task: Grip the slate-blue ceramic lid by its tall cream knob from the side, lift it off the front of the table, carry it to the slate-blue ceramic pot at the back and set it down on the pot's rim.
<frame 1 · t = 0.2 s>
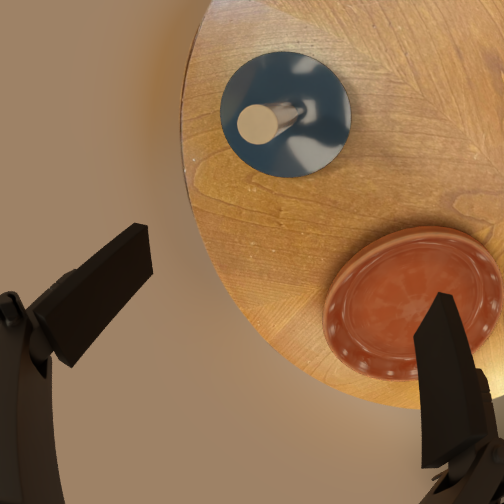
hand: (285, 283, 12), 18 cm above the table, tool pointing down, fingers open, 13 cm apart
saucer: (414, 303, 31), on the table
lid: (284, 114, 25), point 1 cm above the table
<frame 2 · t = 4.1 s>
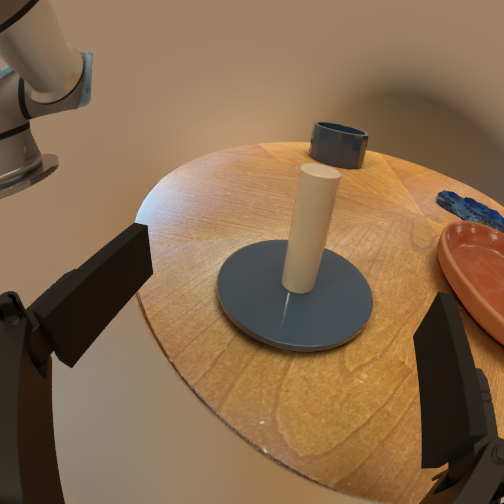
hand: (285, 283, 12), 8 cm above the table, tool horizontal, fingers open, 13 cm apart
lid: (296, 288, 23), point 1 cm above the table
rock: (475, 218, 42), on the table
pot: (335, 159, 57), on the table
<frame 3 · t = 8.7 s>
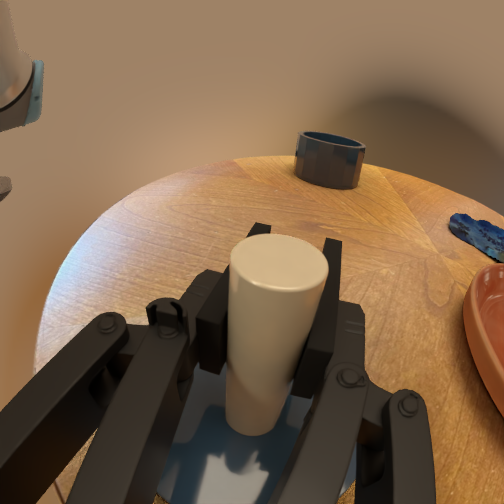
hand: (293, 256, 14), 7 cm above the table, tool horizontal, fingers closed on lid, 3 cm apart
lid: (250, 417, 13), point 1 cm above the table, touching gripper
rock: (492, 247, 34), on the table
pot: (325, 176, 48), on the table
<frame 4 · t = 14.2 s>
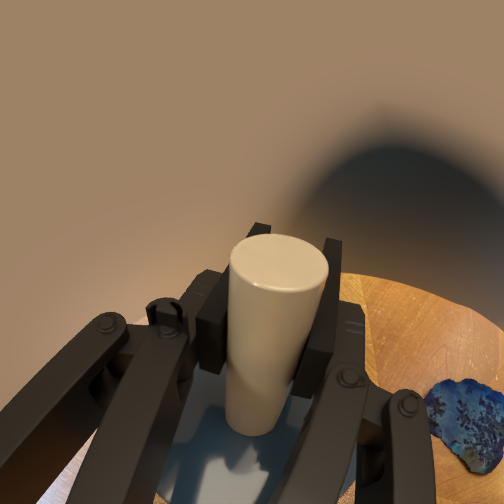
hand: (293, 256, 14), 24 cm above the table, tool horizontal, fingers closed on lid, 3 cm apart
lid: (250, 418, 13), point 18 cm above the table, touching gripper
rock: (467, 422, 26), on the table
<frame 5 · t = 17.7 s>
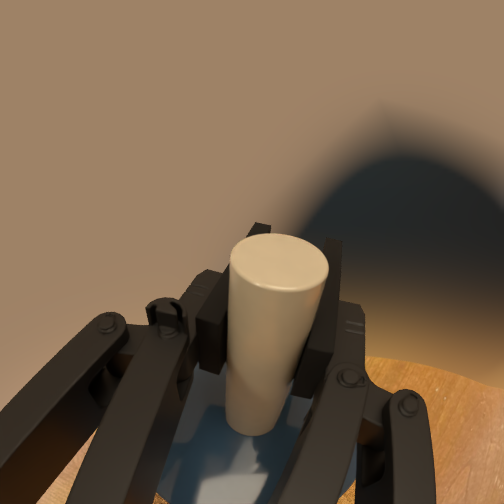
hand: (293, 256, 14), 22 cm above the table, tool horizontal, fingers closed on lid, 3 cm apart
lid: (250, 418, 13), point 15 cm above the table, touching gripper
when the fingers open (13 cm above the table, at t = 20.2 s): lid stays where it is, resting on pot.
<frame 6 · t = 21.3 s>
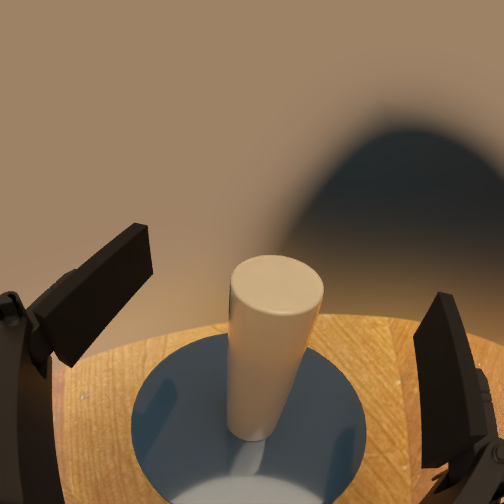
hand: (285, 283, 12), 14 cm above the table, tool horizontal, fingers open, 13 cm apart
lid: (250, 423, 13), point 7 cm above the table, touching pot
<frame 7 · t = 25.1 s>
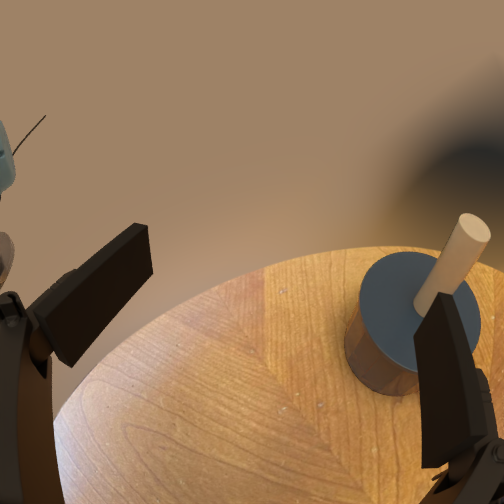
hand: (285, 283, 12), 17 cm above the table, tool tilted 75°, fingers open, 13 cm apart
lid: (423, 309, 21), point 7 cm above the table, touching pot
pot: (395, 344, 26), on the table
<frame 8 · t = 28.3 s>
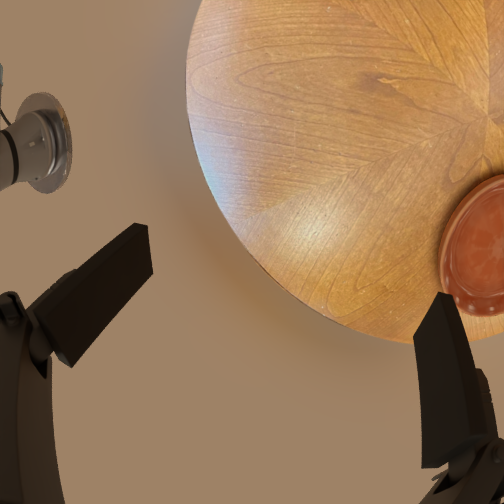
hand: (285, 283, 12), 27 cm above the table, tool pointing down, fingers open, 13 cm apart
saucer: (497, 243, 31), on the table
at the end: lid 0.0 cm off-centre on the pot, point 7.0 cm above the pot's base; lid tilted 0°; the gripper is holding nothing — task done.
